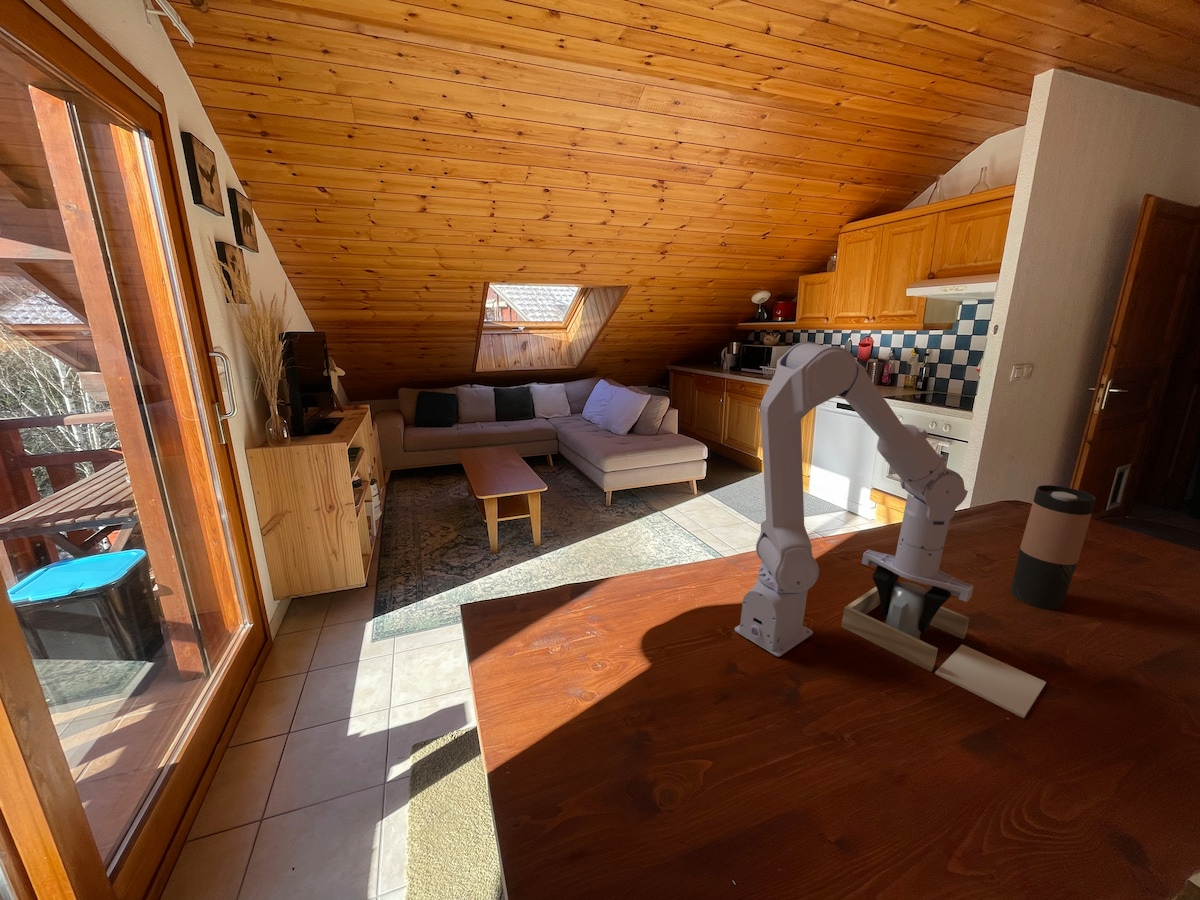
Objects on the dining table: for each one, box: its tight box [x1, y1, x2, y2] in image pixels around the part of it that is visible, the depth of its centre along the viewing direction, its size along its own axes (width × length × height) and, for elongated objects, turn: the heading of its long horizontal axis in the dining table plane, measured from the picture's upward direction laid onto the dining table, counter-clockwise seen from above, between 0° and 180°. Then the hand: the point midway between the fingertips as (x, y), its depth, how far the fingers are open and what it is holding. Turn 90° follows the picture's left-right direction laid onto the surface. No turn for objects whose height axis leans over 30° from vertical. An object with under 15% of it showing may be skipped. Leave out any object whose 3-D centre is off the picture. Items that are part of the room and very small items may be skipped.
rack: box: [841, 586, 970, 672], centre depth 80 cm, size 13×13×4 cm
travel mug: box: [1010, 484, 1097, 611], centre depth 88 cm, size 8×8×20 cm
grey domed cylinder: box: [884, 580, 929, 640], centre depth 79 cm, size 7×5×8 cm
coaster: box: [934, 644, 1047, 719], centre depth 71 cm, size 10×10×1 cm
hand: (904, 621), depth 80 cm, fingers closed on grey domed cylinder, 5 cm apart
